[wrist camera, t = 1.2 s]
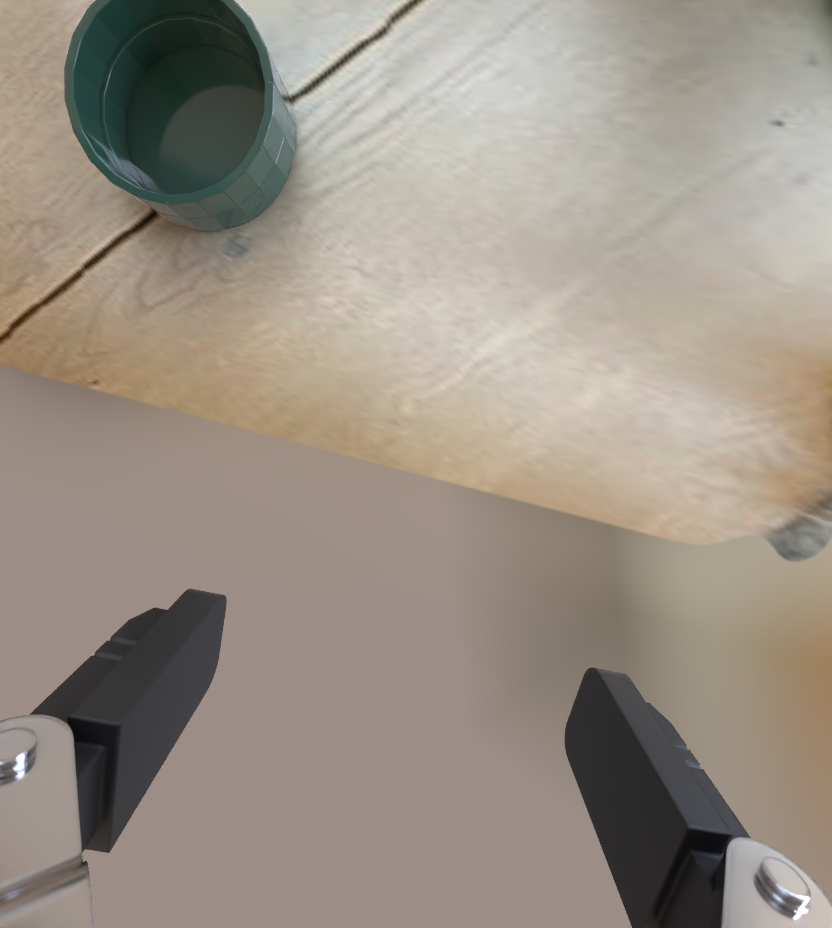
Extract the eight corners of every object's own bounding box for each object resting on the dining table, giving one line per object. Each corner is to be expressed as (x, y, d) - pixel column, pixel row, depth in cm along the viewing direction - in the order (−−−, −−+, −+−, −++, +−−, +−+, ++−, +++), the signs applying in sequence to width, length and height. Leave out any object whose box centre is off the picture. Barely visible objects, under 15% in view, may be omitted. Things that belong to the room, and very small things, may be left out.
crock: (135, 21, 34) (77, -53, 28) (315, 64, 33) (292, -2, 28) (109, 212, 35) (50, 177, 30) (280, 252, 35) (253, 224, 30)
